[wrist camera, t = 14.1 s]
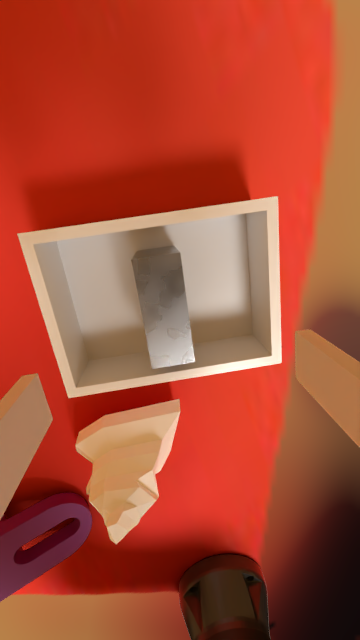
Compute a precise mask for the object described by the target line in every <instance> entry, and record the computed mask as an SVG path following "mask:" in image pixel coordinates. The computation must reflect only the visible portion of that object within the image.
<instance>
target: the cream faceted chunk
mask: <svg viewBox="0 0 360 640" xmlns="http://www.w3.org/2000/svg"><path fill="white" fill-rule="evenodd" d="M179 415H180V399H176V400H172V401H167V402H163V403H158V404H154V405H149V406H145V407H140V408H135V409H131V410H126V411H122V412H117V413H113V414H108V415H104V416H103V417H101V418H100V419H98V420H97V421H95V422H93V423H92V424H90V425H89V426H87V427H86V428H84V429H83V430H81V431H79V434H78V437H77V441H76V445H75V446H76V451H77V452H78V453H79V454H81V455H82V456H83V457H85V458H86V459H87V460H89V461H90V462H91V463H93V469H92V475H91V478H90V480H89V482H88V485H87V487H86V493H87V494H89V502H90V503H91V504H92V505H93V506H94V507H95V508H96V510H97V511H98V512H99V513H100V514H101V515H102V516H103V518H104V523H105V525H106V527H107V530H108V534H109V538H110V540H111V541H112V542H114V543H115V544H117V543H118V542H120V541H121V540H122V539H123V538H124V537H125V536H126V534H127V533H128V532H129V531H130V530H131V529H133V528H134V527H135V526H136V525H137V524H138V523H139V521H140V518H141V517H142V516H143V515H144V514H145V513H146V511H147V510H148V509H149V508H150V507H151V506H152V505H153V504H154V502H155V501H156V500H157V499H158V497H159V493H158V488H157V482H156V476H155V474H157V473H158V472H160V471H161V469H162V467H163V465H164V463H165V461H166V459H167V457H168V455H169V453H170V451H171V447H172V443H173V439H174V435H175V431H176V427H177V423H178V419H179Z"/></svg>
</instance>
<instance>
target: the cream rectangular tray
mask: <svg viewBox="0 0 360 640" xmlns="http://www.w3.org/2000/svg"><path fill="white" fill-rule="evenodd" d="M17 235H18V238H19V241H20V244H21V247H22V251H23V254H24V257H25V260H26V263H27V267H28V270H29V273H30V276H31V280H32V283H33V286H34V289H35V292H36V296H37V299H38V302H39V305H40V309H41V312H42V315H43V318H44V321H45V325H46V328H47V331H48V334H49V337H50V341H51V344H52V347H53V350H54V354H55V357H56V360H57V363H58V366H59V370H60V373H61V376H62V379H63V383H64V386H65V389H66V392H67V395H68V398H73V397H79V396H85V395H91V394H97V393H103V392H109V391H115V390H122V389H128V388H134V387H140V386H146V385H152V384H158V383H164V382H170V381H176V380H182V379H188V378H194V377H200V376H206V375H212V374H218V373H224V372H230V371H236V370H242V369H248V368H254V367H260V366H267V365H273V364H279V363H282V355H281V311H280V266H279V222H278V196H276V197H269V198H262V199H255V200H248V201H241V202H234V203H227V204H220V205H213V206H206V207H199V208H193V209H186V210H179V211H172V212H165V213H158V214H151V215H144V216H137V217H130V218H123V219H116V220H109V221H102V222H95V223H88V224H81V225H75V226H68V227H61V228H54V229H47V230H40V231H33V232H26V233H19V234H17ZM173 245H174V246H175V247H176V248H177V249H178V250H179V251H180V254H181V261H182V269H183V276H184V283H185V291H186V298H187V306H188V313H189V321H190V328H191V336H192V343H193V350H194V358H195V362H192V363H186V364H180V365H174V366H168V367H161V368H155V369H152V366H151V360H150V355H149V350H148V345H147V339H146V334H145V329H144V324H143V319H142V313H141V308H140V303H139V298H138V292H137V287H136V282H135V277H134V271H133V266H132V261H131V259H132V258H133V256H134V255H135V253H136V252H137V251H139V250H146V249H153V248H159V247H166V246H173Z"/></svg>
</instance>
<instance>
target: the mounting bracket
mask: <svg viewBox="0 0 360 640" xmlns="http://www.w3.org/2000/svg"><path fill="white" fill-rule="evenodd" d="M68 518H75V519H74V521H73V522H72V523H70V524H69V525H67V526H65V527H64V528H62V529H60V530H59V531H57V532H56V533H54V534H52V535H51V536H49V537H47V538H46V539H44V540H42V541H41V542H39V543H37V544H36V545H34V546H32V547H31V548H29V549H27V550H23V549H22V547H21V546H23V545H24V544H26V543H27V542H29V541H31V540H32V539H34V538H36V537H38V536H39V535H41V534H43V533H44V532H46V531H48V530H49V529H51V528H53V527H54V526H56V525H58V524H59V523H61V522H63V521H64V520H66V519H68ZM91 526H92V516H91V513H90V510H89V507H88V504H87V502H86V501H85V499H84V498H83V497H81V496H80V495H78V494H76V493H69V492H66V493H59V494H55V495H52V496H50V497H47V498H45V499H44V500H42V501H40V502H38V503H36V504H34V505H33V506H31V507H29V508H27V509H25V510H24V511H22V512H20V513H18V514H16V515H14V516H13V517H11V518H9V519H7V520H6V517H5V515H4V514H3V516H2V518H1V520H0V601H2V600H4V599H5V598H7V597H8V596H10V595H11V594H13V593H14V592H16V591H17V590H19V589H20V588H22V587H24V586H25V585H27V584H28V583H30V582H31V581H33V580H34V579H36V578H37V577H39V576H40V575H42V574H43V573H45V572H46V571H48V570H49V569H51V568H53V567H54V566H56V565H57V564H59V563H60V562H62V561H63V560H65V559H66V558H68V557H69V556H71V555H72V554H73V553H74V552H76V551H77V550H78V549H79V548H80V547H81V545H82V544H83V543H84V542H85V540H86V539H87V537H88V535H89V533H90V530H91Z"/></svg>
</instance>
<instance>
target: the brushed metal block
mask: <svg viewBox="0 0 360 640" xmlns="http://www.w3.org/2000/svg"><path fill="white" fill-rule="evenodd" d="M131 261H132V266H133V271H134V277H135V282H136V287H137V292H138V298H139V303H140V308H141V313H142V319H143V324H144V329H145V334H146V339H147V345H148V350H149V355H150V360H151V366H152V369H155V368H161V367H168V366H174V365H180V364H186V363H192V362H195V358H194V350H193V343H192V336H191V328H190V321H189V313H188V306H187V298H186V291H185V283H184V276H183V269H182V261H181V254H180V251H179V250H178V249H177V248H176V247H175V246H174V245H173V246H166V247H159V248H153V249H146V250H139V251H137V252H136V253H135V255H134V256H133V258H132V259H131Z"/></svg>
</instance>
